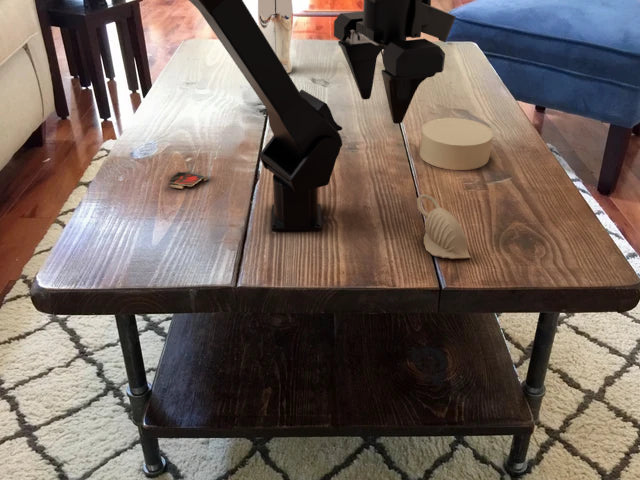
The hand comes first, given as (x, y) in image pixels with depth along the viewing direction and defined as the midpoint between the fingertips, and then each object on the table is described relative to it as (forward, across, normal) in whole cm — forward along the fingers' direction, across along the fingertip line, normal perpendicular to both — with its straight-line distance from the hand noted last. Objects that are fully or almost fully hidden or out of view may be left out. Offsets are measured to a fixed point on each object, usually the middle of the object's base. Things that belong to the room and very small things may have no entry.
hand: (381, 110), depth 83 cm
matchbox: (+12, +14, +24) cm, 30 cm away
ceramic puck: (+12, +8, -18) cm, 23 cm away
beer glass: (+12, +58, -5) cm, 60 cm away
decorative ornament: (+12, -15, -2) cm, 20 cm away
